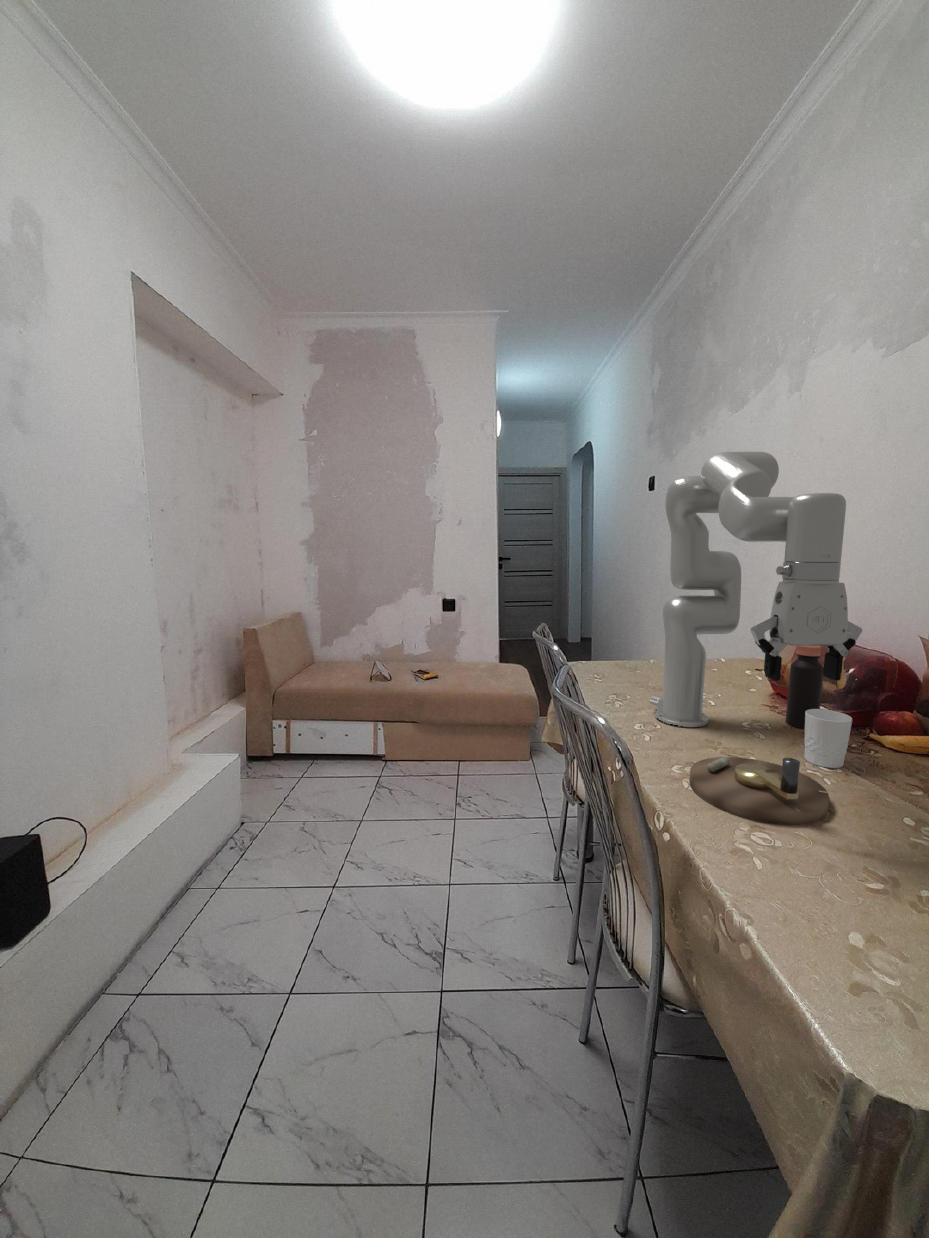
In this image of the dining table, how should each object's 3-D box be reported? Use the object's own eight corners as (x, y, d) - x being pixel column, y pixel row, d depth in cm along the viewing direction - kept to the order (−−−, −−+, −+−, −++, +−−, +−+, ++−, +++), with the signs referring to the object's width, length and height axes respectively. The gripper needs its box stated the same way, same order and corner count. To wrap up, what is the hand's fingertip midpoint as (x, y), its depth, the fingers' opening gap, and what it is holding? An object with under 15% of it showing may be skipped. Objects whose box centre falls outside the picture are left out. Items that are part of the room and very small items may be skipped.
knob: (726, 772, 99) (729, 735, 98) (761, 770, 100) (764, 734, 98) (772, 806, 86) (776, 764, 85) (812, 803, 87) (816, 762, 86)
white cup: (854, 771, 105) (860, 722, 103) (810, 767, 106) (815, 720, 105) (835, 755, 112) (840, 710, 111) (794, 752, 114) (799, 707, 112)
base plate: (665, 786, 98) (666, 767, 98) (726, 757, 111) (727, 741, 111) (794, 839, 81) (796, 817, 80) (848, 797, 94) (851, 778, 93)
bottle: (779, 722, 132) (786, 644, 129) (797, 718, 135) (804, 641, 132) (805, 731, 126) (813, 649, 123) (824, 727, 129) (832, 646, 126)
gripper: (770, 575, 80) (761, 684, 82) (883, 574, 80) (872, 684, 83) (744, 572, 88) (737, 673, 90) (848, 572, 88) (838, 673, 90)
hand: (801, 678), depth 86 cm, fingers open, 9 cm apart
